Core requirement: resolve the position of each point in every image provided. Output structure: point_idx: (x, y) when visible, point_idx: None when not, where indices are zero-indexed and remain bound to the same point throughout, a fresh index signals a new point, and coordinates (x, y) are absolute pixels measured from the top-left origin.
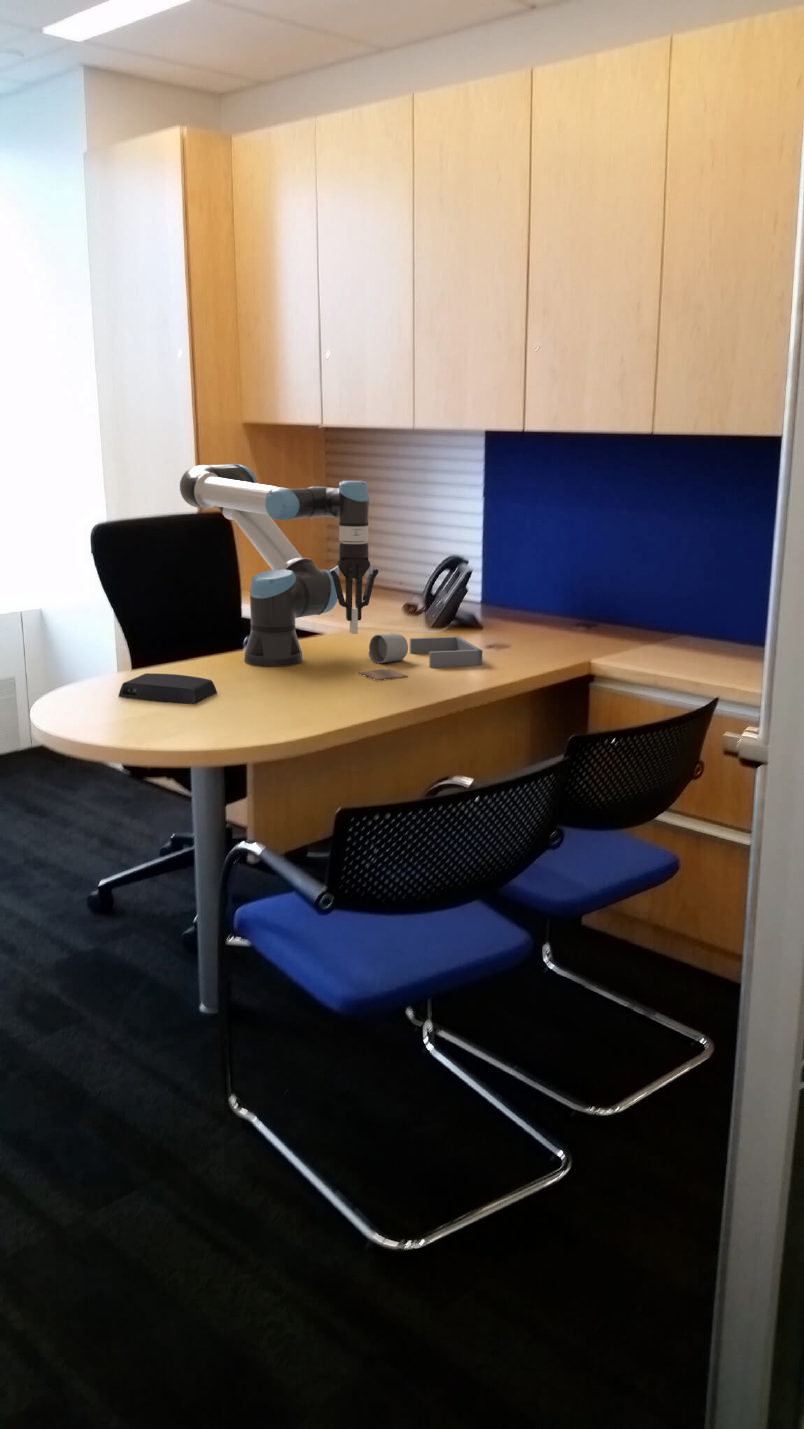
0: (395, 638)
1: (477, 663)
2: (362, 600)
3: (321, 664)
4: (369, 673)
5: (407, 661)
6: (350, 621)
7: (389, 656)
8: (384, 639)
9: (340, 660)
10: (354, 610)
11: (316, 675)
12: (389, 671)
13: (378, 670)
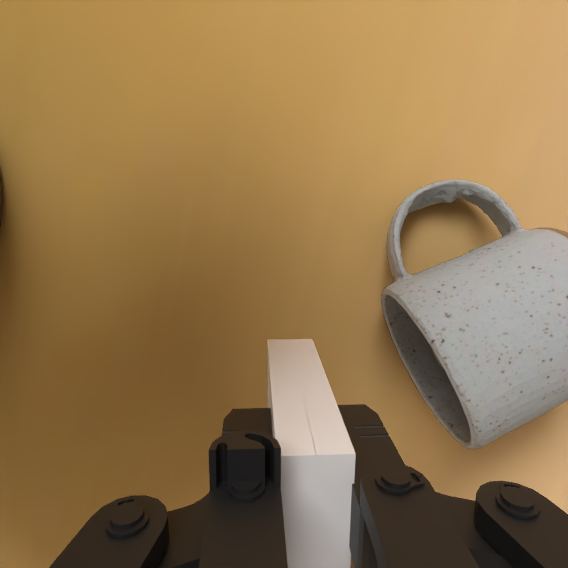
0: (560, 402)
1: None
2: (501, 537)
3: (103, 316)
4: None
5: None
6: (270, 404)
7: (453, 404)
8: (473, 444)
9: (222, 238)
10: (304, 561)
11: (49, 529)
12: None
13: None
